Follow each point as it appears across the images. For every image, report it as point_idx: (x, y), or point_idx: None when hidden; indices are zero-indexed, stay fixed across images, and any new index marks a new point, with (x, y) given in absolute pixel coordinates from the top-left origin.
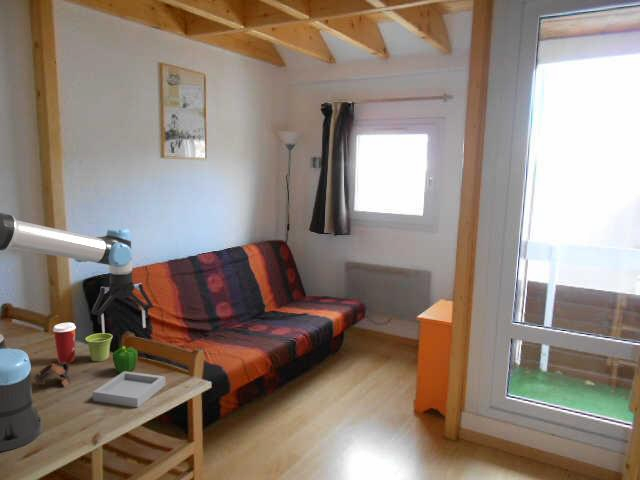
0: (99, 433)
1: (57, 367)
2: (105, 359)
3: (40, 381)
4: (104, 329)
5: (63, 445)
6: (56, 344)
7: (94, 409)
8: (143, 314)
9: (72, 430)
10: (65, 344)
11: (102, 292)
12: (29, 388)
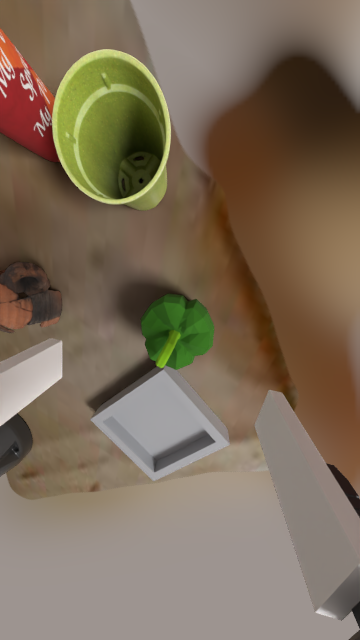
0: (98, 485)
1: (1, 312)
2: (153, 207)
3: None
4: (44, 389)
5: (59, 482)
6: None
7: (99, 431)
8: (298, 544)
9: (68, 461)
10: None
11: None
12: None
